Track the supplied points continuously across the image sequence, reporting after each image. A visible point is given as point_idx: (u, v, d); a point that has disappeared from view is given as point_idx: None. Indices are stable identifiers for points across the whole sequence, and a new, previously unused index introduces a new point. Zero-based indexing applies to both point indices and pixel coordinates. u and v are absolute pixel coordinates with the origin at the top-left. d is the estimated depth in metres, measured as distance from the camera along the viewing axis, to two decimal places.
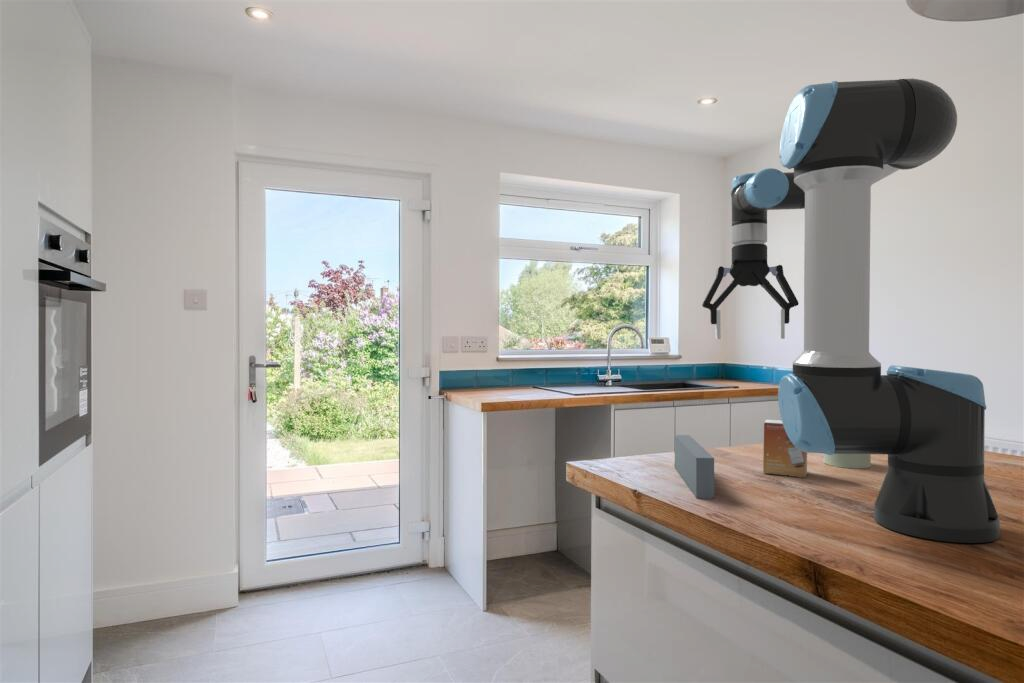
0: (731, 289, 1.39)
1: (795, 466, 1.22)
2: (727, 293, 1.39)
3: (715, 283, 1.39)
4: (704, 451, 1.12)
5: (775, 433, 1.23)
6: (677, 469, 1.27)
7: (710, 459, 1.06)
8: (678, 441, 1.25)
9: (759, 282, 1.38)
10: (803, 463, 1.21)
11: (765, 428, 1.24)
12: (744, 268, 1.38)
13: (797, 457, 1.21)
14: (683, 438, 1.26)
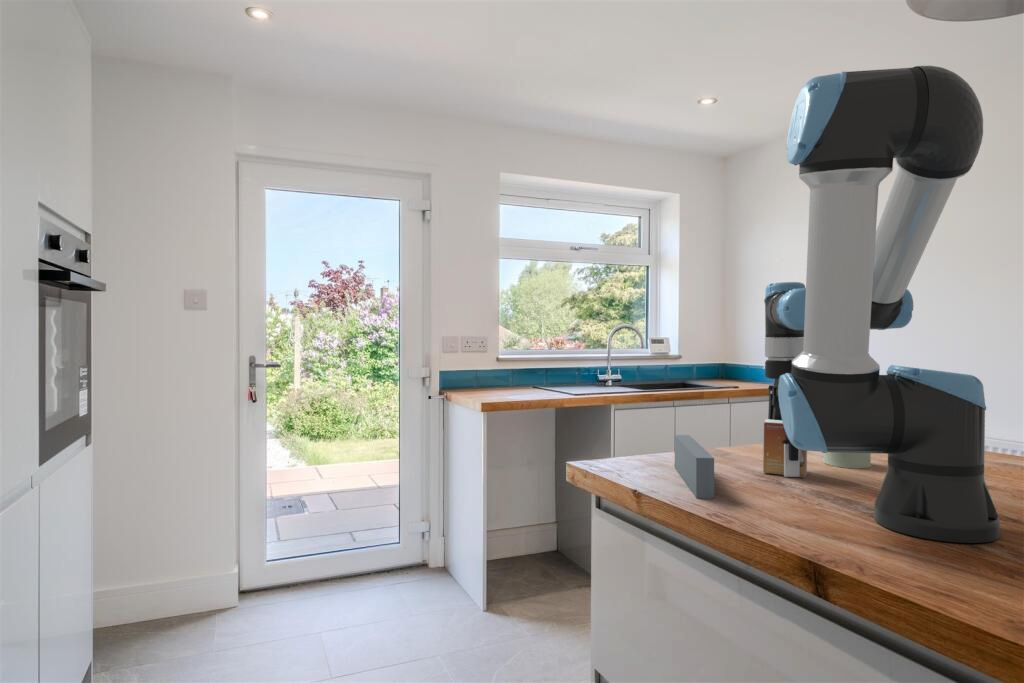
0: (774, 410, 1.28)
1: None
2: (773, 415, 1.28)
3: (769, 404, 1.31)
4: (704, 451, 1.12)
5: (775, 432, 1.23)
6: (677, 469, 1.27)
7: (710, 459, 1.06)
8: (678, 441, 1.25)
9: None
10: (803, 463, 1.21)
11: (765, 428, 1.24)
12: (777, 382, 1.26)
13: None
14: (683, 438, 1.26)
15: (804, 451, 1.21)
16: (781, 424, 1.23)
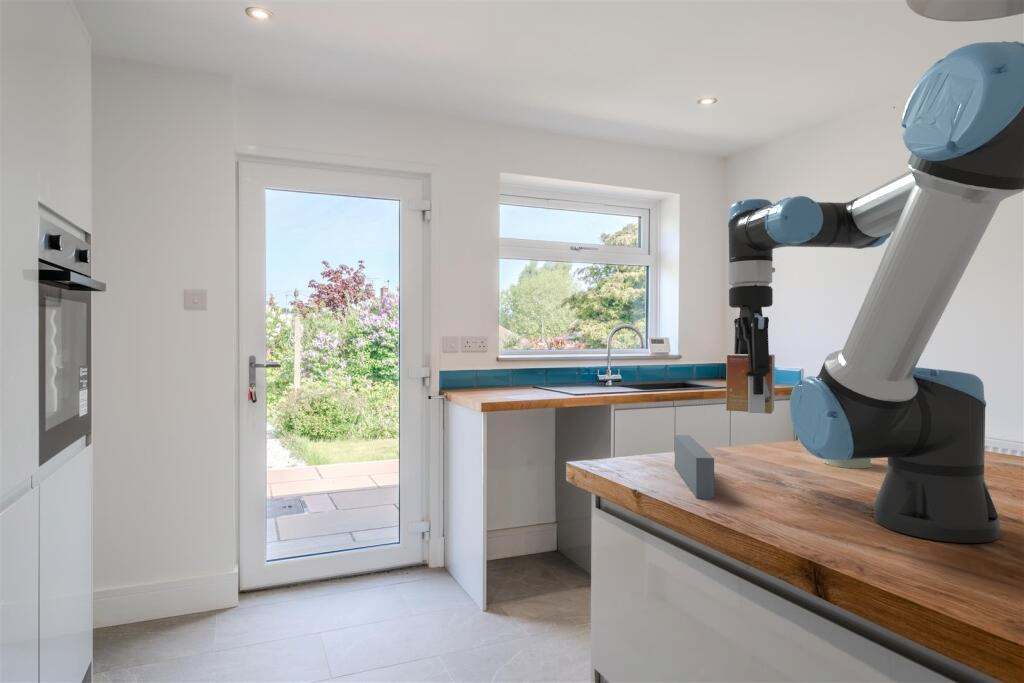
0: (740, 344, 1.17)
1: None
2: (739, 349, 1.17)
3: (735, 339, 1.20)
4: (704, 451, 1.12)
5: (738, 366, 1.12)
6: (677, 469, 1.27)
7: (710, 459, 1.06)
8: (678, 441, 1.25)
9: None
10: (769, 398, 1.10)
11: (728, 361, 1.13)
12: (742, 312, 1.15)
13: None
14: (683, 438, 1.26)
15: (770, 385, 1.10)
16: (745, 356, 1.12)
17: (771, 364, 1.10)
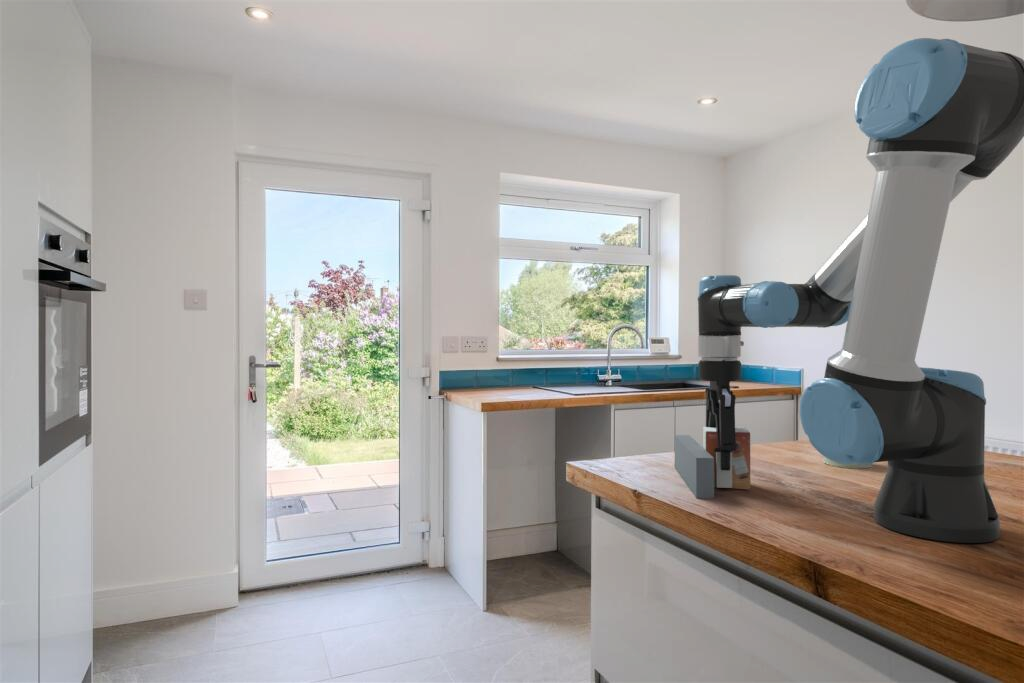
0: (710, 415, 1.17)
1: (740, 477, 1.12)
2: (709, 420, 1.18)
3: (706, 408, 1.21)
4: (704, 451, 1.12)
5: None
6: (677, 469, 1.27)
7: (710, 459, 1.06)
8: (678, 441, 1.25)
9: None
10: (748, 474, 1.12)
11: (707, 437, 1.13)
12: (711, 384, 1.16)
13: (742, 467, 1.12)
14: (683, 438, 1.26)
15: (748, 461, 1.12)
16: None
17: (749, 440, 1.12)
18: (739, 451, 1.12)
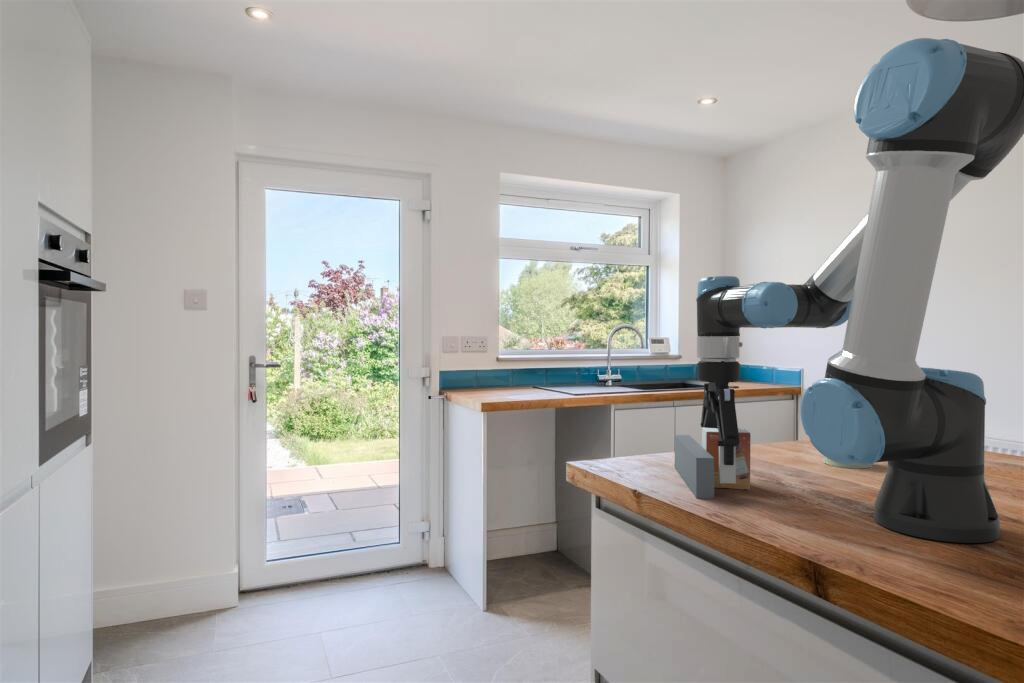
0: (707, 411, 1.19)
1: (740, 478, 1.12)
2: (706, 415, 1.20)
3: (703, 402, 1.22)
4: (704, 451, 1.12)
5: None
6: (677, 469, 1.27)
7: (710, 459, 1.06)
8: (678, 441, 1.25)
9: None
10: (748, 474, 1.12)
11: (708, 438, 1.13)
12: (710, 388, 1.16)
13: (742, 468, 1.12)
14: (683, 438, 1.26)
15: (748, 461, 1.12)
16: None
17: (749, 441, 1.12)
18: (740, 452, 1.12)
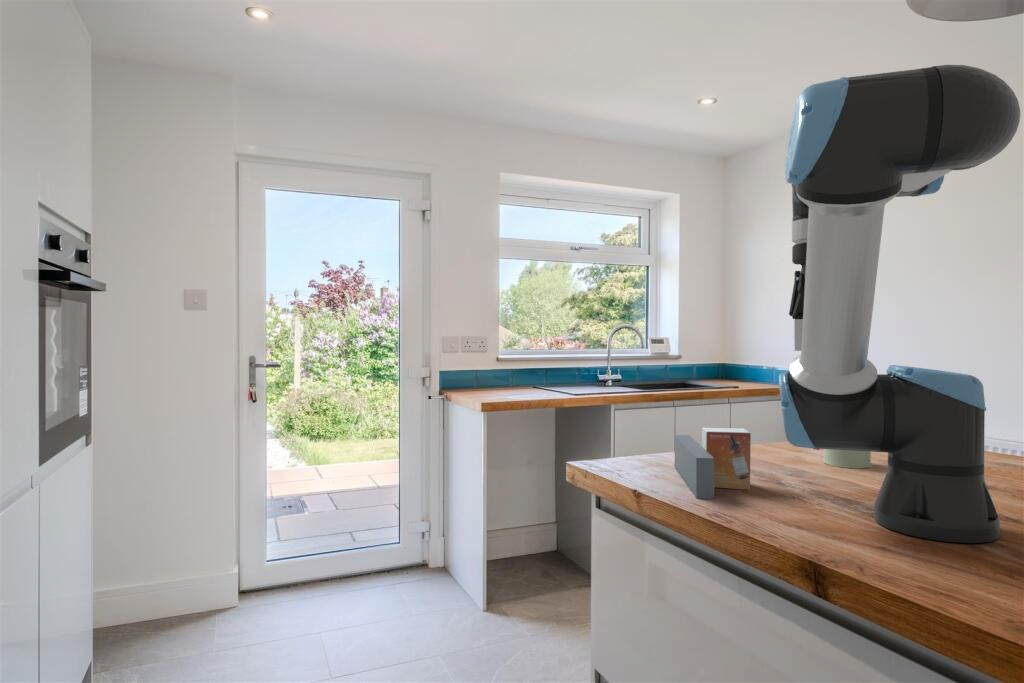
0: (799, 295, 1.24)
1: (740, 478, 1.12)
2: (798, 300, 1.25)
3: (793, 290, 1.28)
4: (704, 451, 1.12)
5: (718, 442, 1.13)
6: (677, 469, 1.27)
7: (710, 459, 1.06)
8: (678, 441, 1.25)
9: None
10: (748, 474, 1.12)
11: (708, 438, 1.13)
12: (805, 271, 1.21)
13: (742, 468, 1.12)
14: (683, 438, 1.26)
15: (748, 461, 1.12)
16: (725, 433, 1.13)
17: (749, 441, 1.12)
18: (740, 452, 1.12)
